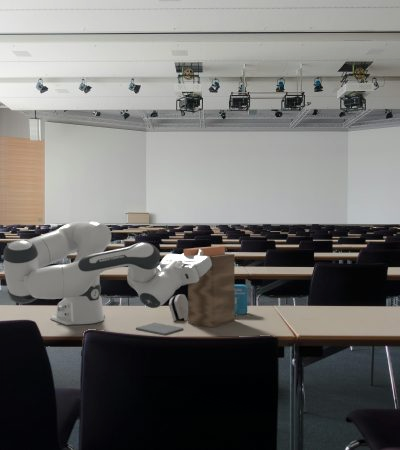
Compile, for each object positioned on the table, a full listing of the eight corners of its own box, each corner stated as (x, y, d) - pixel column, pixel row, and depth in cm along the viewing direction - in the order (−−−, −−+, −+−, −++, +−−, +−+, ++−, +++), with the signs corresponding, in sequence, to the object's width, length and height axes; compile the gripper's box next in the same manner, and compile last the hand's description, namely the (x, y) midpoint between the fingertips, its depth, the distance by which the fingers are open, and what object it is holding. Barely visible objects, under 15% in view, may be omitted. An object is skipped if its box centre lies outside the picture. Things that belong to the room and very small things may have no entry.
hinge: (185, 321, 181) (177, 296, 182) (174, 324, 182) (166, 300, 183) (194, 312, 198) (186, 290, 198) (184, 315, 199) (176, 293, 199)
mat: (135, 329, 168) (135, 327, 168) (154, 324, 176) (154, 322, 176) (164, 335, 160) (164, 333, 160) (183, 329, 168) (183, 327, 168)
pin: (183, 257, 168) (183, 249, 168) (218, 253, 186) (218, 245, 186) (190, 257, 167) (189, 249, 167) (224, 253, 184) (224, 246, 184)
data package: (218, 314, 194) (218, 285, 194) (219, 312, 198) (219, 284, 198) (247, 314, 193) (247, 286, 192) (247, 312, 197) (247, 284, 197)
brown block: (188, 323, 178) (187, 255, 178) (209, 316, 189) (209, 252, 189) (213, 327, 171) (213, 256, 170) (234, 320, 182) (234, 254, 181)
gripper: (156, 278, 170) (177, 256, 180) (201, 282, 158) (221, 259, 167) (150, 263, 168) (172, 243, 177) (195, 267, 155) (216, 245, 165)
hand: (196, 251), depth 172 cm, fingers closed on pin, 3 cm apart
